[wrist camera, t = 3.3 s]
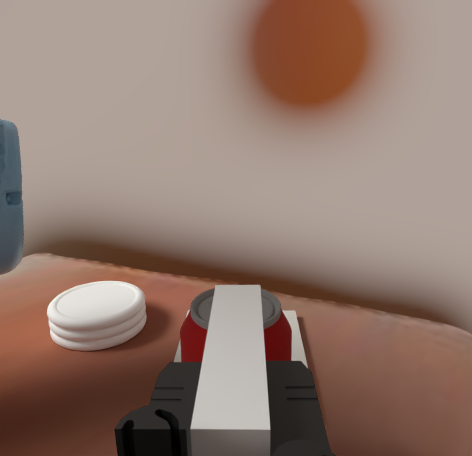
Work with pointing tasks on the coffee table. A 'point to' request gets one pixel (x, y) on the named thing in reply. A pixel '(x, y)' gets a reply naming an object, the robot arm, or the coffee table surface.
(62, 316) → the coaster
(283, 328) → the beverage can
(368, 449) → the coffee table surface
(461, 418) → the coffee table surface
